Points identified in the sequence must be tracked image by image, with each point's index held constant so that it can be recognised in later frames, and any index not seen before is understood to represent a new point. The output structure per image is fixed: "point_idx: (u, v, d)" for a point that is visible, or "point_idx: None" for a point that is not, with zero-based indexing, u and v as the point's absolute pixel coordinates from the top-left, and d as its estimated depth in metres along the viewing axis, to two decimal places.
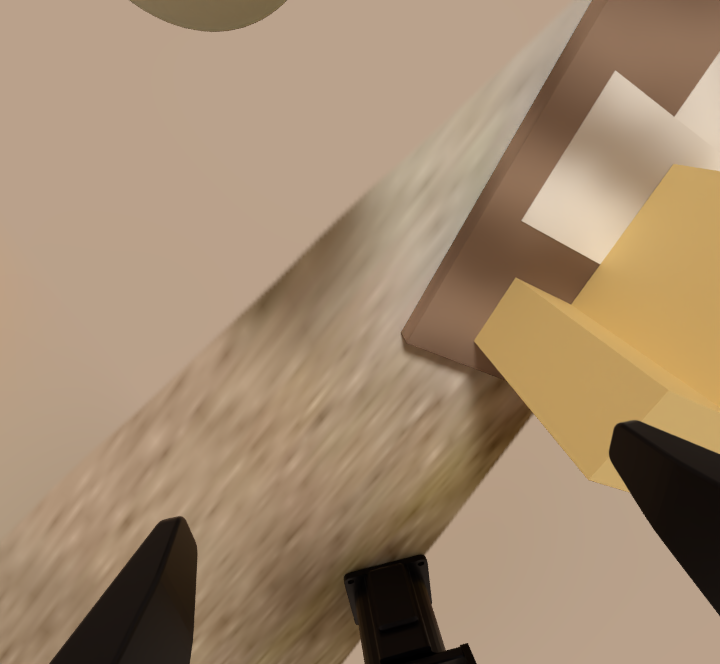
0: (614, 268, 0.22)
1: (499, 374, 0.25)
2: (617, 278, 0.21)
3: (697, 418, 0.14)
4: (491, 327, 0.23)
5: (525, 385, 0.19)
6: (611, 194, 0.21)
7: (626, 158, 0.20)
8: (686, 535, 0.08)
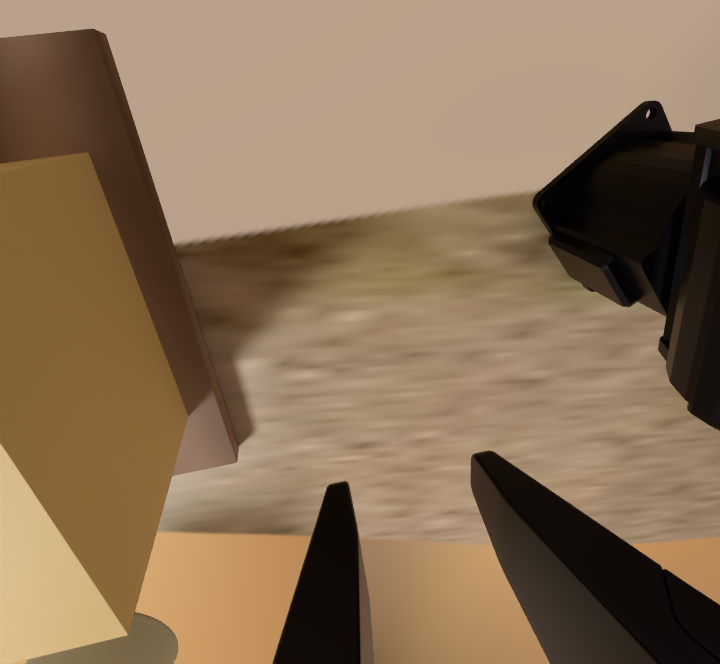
0: None
1: (199, 363, 0.20)
2: None
3: None
4: None
5: None
6: None
7: None
8: (520, 576, 0.07)
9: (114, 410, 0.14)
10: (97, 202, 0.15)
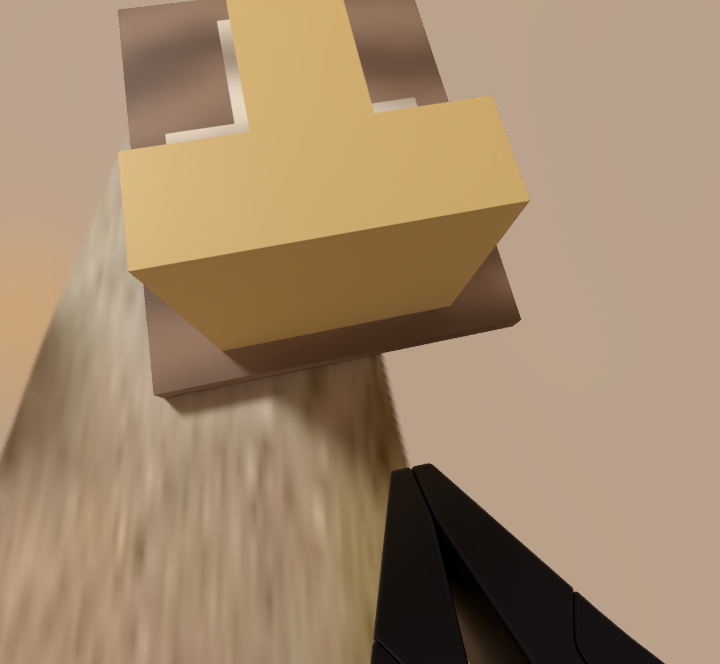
0: None
1: (280, 364, 0.22)
2: None
3: (187, 154, 0.13)
4: None
5: None
6: None
7: None
8: None
9: (307, 294, 0.17)
10: (424, 306, 0.22)
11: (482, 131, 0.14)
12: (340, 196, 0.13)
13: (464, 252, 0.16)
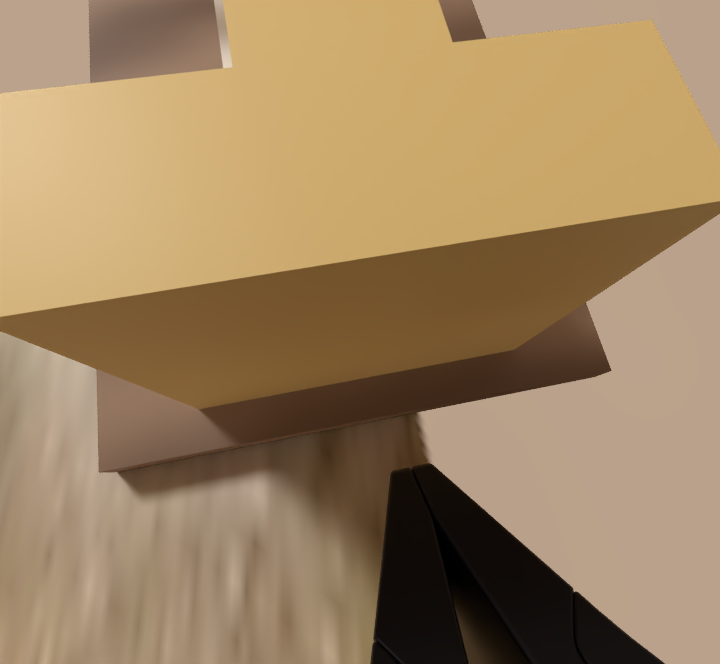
0: None
1: (280, 430, 0.15)
2: None
3: (115, 102, 0.07)
4: None
5: None
6: None
7: None
8: None
9: (323, 343, 0.11)
10: (481, 351, 0.16)
11: (643, 76, 0.08)
12: (395, 183, 0.07)
13: (577, 284, 0.10)
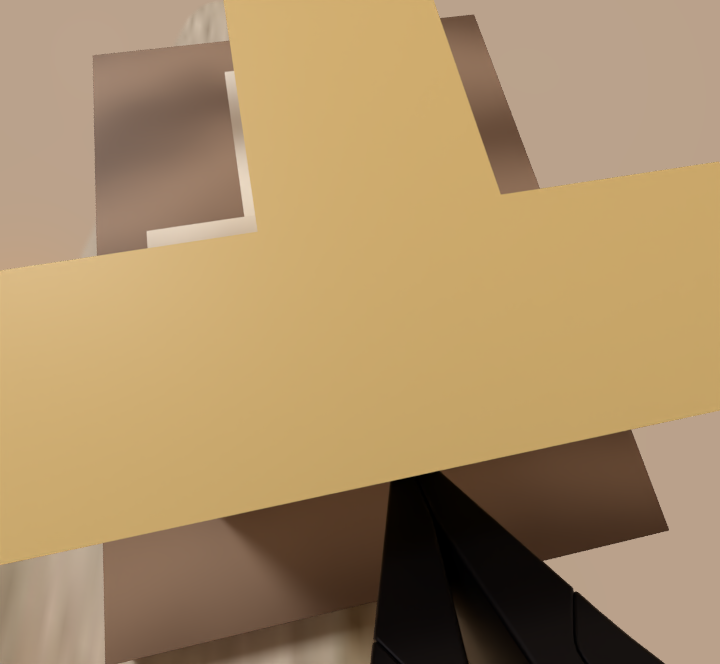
0: None
1: (306, 610, 0.14)
2: None
3: (127, 279, 0.06)
4: None
5: None
6: None
7: None
8: None
9: None
10: None
11: (713, 233, 0.07)
12: (445, 376, 0.06)
13: None
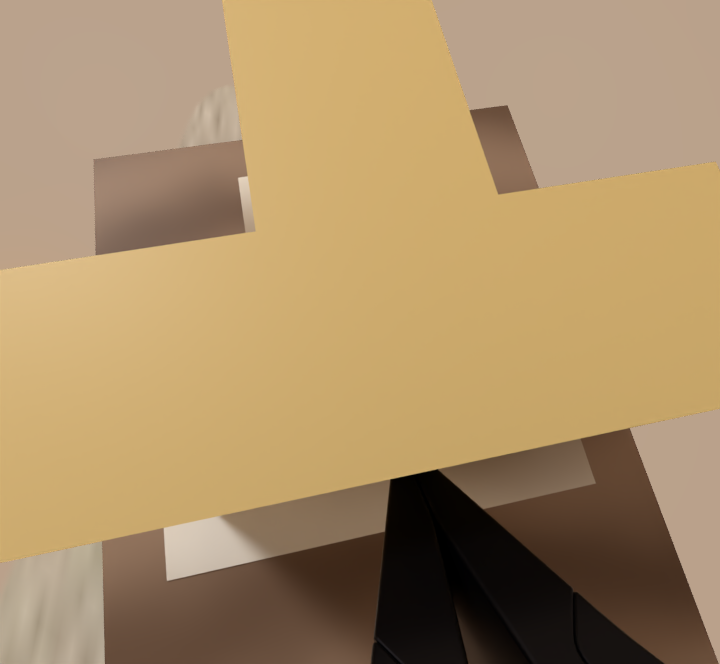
0: None
1: None
2: None
3: (126, 279, 0.06)
4: None
5: None
6: None
7: None
8: None
9: None
10: None
11: (710, 233, 0.07)
12: (441, 376, 0.06)
13: None
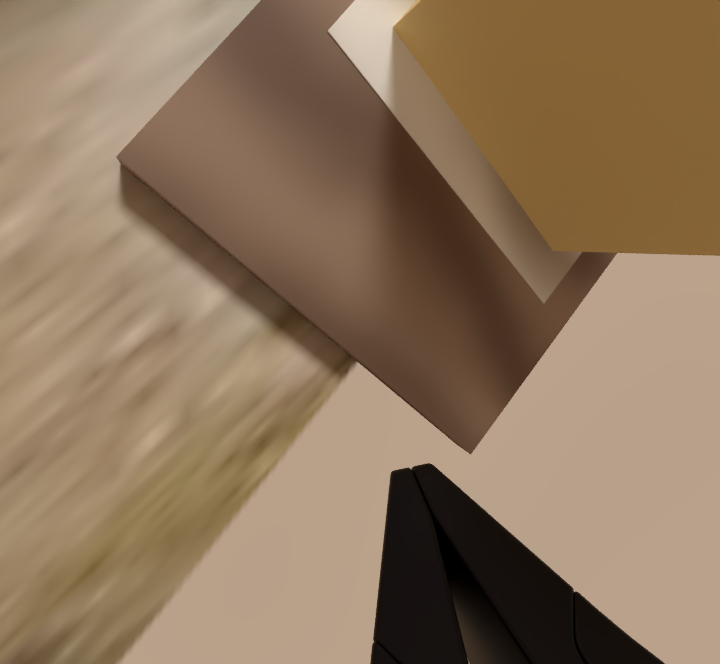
0: None
1: (276, 284, 0.16)
2: None
3: None
4: None
5: None
6: None
7: None
8: None
9: (587, 87, 0.13)
10: (551, 227, 0.19)
11: None
12: None
13: (701, 230, 0.14)
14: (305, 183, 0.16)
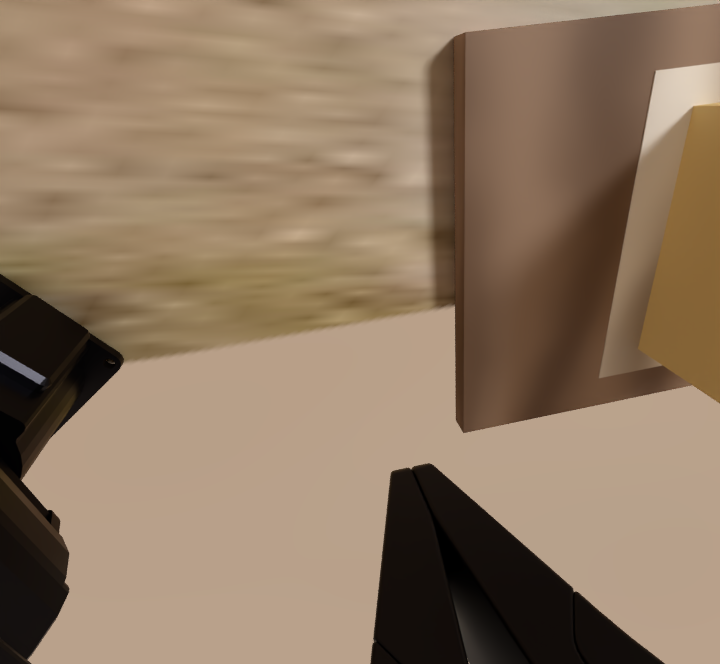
0: None
1: (469, 206, 0.19)
2: None
3: None
4: None
5: None
6: None
7: None
8: None
9: None
10: (656, 330, 0.22)
11: None
12: None
13: None
14: (547, 157, 0.18)
